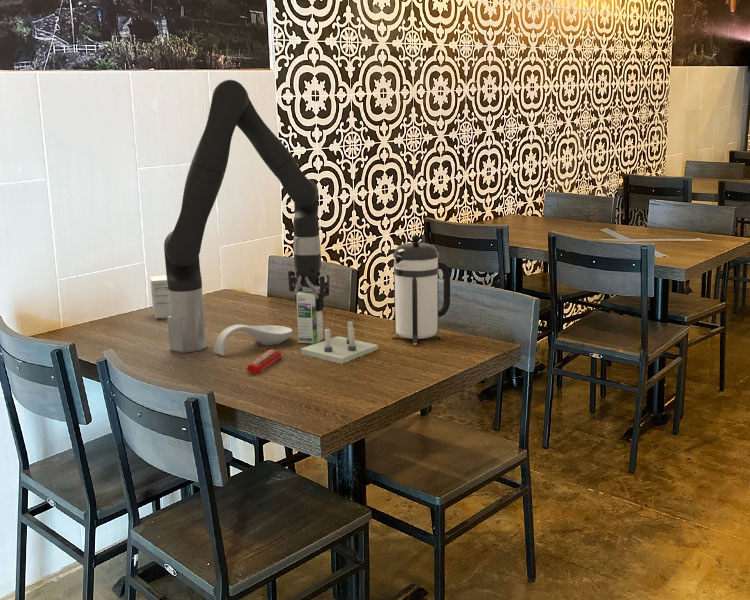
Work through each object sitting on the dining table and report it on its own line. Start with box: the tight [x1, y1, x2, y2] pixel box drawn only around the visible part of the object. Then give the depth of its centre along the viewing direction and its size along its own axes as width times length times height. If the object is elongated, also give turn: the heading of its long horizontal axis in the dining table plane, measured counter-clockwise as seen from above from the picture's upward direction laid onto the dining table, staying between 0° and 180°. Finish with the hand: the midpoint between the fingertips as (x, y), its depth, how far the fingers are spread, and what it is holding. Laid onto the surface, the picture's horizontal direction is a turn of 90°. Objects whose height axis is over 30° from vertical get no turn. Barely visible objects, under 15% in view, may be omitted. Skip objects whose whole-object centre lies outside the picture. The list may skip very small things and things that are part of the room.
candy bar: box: [245, 348, 282, 375], centre depth 215 cm, size 16×4×3 cm, turn 162°
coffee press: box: [390, 234, 451, 344], centre depth 233 cm, size 17×16×30 cm
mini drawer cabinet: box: [149, 275, 170, 320], centre depth 266 cm, size 7×7×13 cm
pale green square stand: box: [300, 320, 380, 365], centre depth 224 cm, size 15×15×8 cm
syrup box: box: [296, 289, 324, 345], centre depth 234 cm, size 6×6×14 cm
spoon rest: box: [213, 324, 293, 357], centre depth 232 cm, size 24×12×7 cm, turn 132°
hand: (309, 308), depth 234 cm, fingers closed on syrup box, 7 cm apart
